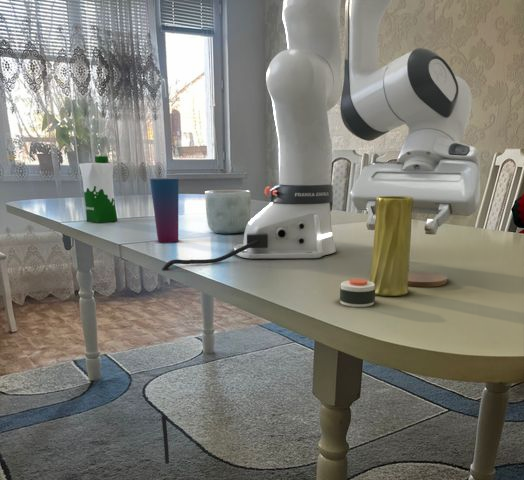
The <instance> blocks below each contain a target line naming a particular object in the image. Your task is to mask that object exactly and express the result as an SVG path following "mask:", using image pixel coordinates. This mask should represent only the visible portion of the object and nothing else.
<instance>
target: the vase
mask: <svg viewBox="0 0 524 480" xmlns="http://www.w3.org/2000/svg"><path fill="white" fill-rule="evenodd" d="M412 208H413V197H406V196H381V197H377V202H376V215H375V216H376V218H375V230H374V234H373V243H372V244H373V245H372V255H371V264H370V273H369V282H373V283H374V284H375V296H379V297H402V296H405V295H408V293H409V286H408V275H409V271H410V257H411V255H410V254H411V241H412V240H411V239H412V221H413V213H412Z"/></svg>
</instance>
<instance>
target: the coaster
mask: <svg viewBox="0 0 524 480" xmlns="http://www.w3.org/2000/svg"><path fill="white" fill-rule="evenodd" d="M447 283H448V276H446V275H445V274H442V273H438V272H434V271H433V272H432V271H424V270H409V275H408V287H419V288H433V287H434V288H435V287H439V286H444V285H446V284H447Z"/></svg>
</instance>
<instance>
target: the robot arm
mask: <svg viewBox="0 0 524 480" xmlns="http://www.w3.org/2000/svg"><path fill="white" fill-rule="evenodd" d="M392 2H393V0H345V4H344V5H345V7H344V8H345V9H344V10H345V11H344V64H343V65H344V69H343V70H344V74H343V77H344V78H343V83H342V48H341V47H342V46H341V45H342V44H341V43H342V41H341V8H342V7H341V5H342V0H282V22H283V25H284V29H285V35H286V43H287V49H285V50H284V49H283V50H282V51H280V52H278V53H277V54H276V55H275V56H274V57H273V58H272V60H271V61H270V63H269V65H268V67H267V70H266V75H265V82H266V83H265V84H266V89H267V91H268V93H269V96H270V98H271V103H272V110H273V117H274V122H275V128H276V135H277V143H278V184H276V185H275V186H273V187H272V186H270V185H269V186H266V187H265V188H264V190H263V192H264V194H265V195H266V197H269V204H268V205H266V206H265V207H264V208H263V209H262V210H260V211H259V212H258V213H257V214H255V215H254V216H253V217H252V218H250V221H249V222H248V223H247V225H246V228H245V231H244V232H243V241H242V242H243V243H241V244H240V243H238V244H236V245H234V247H233V251H231V252H228V253H226V254H223V255H221V256H219V257H216V258H207V259H171V260H169V261H167V262H166V263H165V264H164V266H163V267H161V271H162V272H163V271H164V272H165V271H167V270H168V269H169V268H170V267H171V266H174V265H205V264H206V265H209V264H216V263H219V262H223V261H225V260H227V259H230V258H231V257H234V256H238V257H240V258H245V259H252V260H253V259H319V258H321V257H323V256H326V255H331V254H334V253H336V252H337V249H336V246H335V245H336V244H335V239H334V235H333V234H334V233H333V226H332V211H333V205H334V186H333V184H332V164H333V163H332V162H333V141H332V139H331V134H330V133H331V132H330V127H329V115H328V112H330V111H331V110H332V109H333V108H334V107H335V106H336V105H337V103H338V102H339V100H340V103H339V104H340V110H339V111H340V117H341V120H342V123H343V125H344V127H345V128H346V129H347V131H349V132H350V133H351V134H352V135H353V136H355V137H357V138H358V139H361V140H364V141H368V142H372V141H373V140H376V139H378V138H380V137H382V136H383V135H385V134H387V133H389V132H390V131H392V130H394V129H397V128H399V127H401V126H403V125H406V126H407V128H408V133H407V136H406V137H405V139H404V142H403V144H402V147H401V150H400V152H399V155H398V157H397V160H396V161H373V162H372V163H370V164H367V165H365V166H363V168H362V170H361V172H360V174H359V175H358V177H357V179H356V180H355V182H354V184H353V185H352V188H351V190H350V194H349V195H350V199H351V202H352V204H353V206H354V207H355V209H356V210H358V211H366V212H367V214H368V218H367V220H366V225H365V226H366V228H367V231H375V218H376V202H377V197H381V196H406V197H413V208H412V214H424V215H425V214H427V215H435V216H434V217H433V218H427V219H426V221H425V225H424V231H425V232H424V233H425V235H434V236H435V235H436V234H437V232H438V229H439V227H441V226H442V225H444V224H445V223H446V222H447V221H448V220H450V218H451V217H450V216H461V217H462V216H463V217H469V216H472V215H473V214H474V213H476V212H477V210H478V207H479V204H480V200H481V199H480V198H481V191H482V189H481V159H480V154H479V150H478V148H477V147H476V146H473V145H469V144H466V143H462V140H463V139H464V137H465V134H466V131H467V127H468V124H469V121H470V117H471V112H472V103H473V102H472V101H473V96H472V90H471V88H470V86H469V84H468V83H467V82H466V80H464V78H462V77H460V76H457V75H455V74H454V71H453V69H452V68H451V66H450V65H449V64H448V63H447V62H446V60H445V59H444V58H442V57H441V56H440V55H439V54H437V53H435V52H434V51H432V50H430V49H428V48H423V47H418V48H415V49H413V50H411V51H409V52H407V53H405V54H404V55H402V56H399V57H398V58H396V59H394V60H392V61H390V62H389V63H387V64H386V65H384V66H382V67H381V68H379V67H378V66H379V31H380V25H381V22H382V19H383V17H384V15H385V13H386V11H387V10H388V9H389V6H390V5H391V4H392ZM166 416H167V415H161V425H162V436H163V451H164V464H165V465H168V464H170V454H169V438H168V437H169V436H168V426H167V417H166Z"/></svg>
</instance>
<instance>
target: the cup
mask: <svg viewBox="0 0 524 480" xmlns="http://www.w3.org/2000/svg"><path fill="white" fill-rule="evenodd" d="M149 184H150V190H151V191H150V192H151V199H152V207H153V214H154V222H155V229H156V237H157V242H158V243H161V244H162V243H163V244H171V243H173V244H174V243H177V242H179V178H178V177H151V178H149Z"/></svg>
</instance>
